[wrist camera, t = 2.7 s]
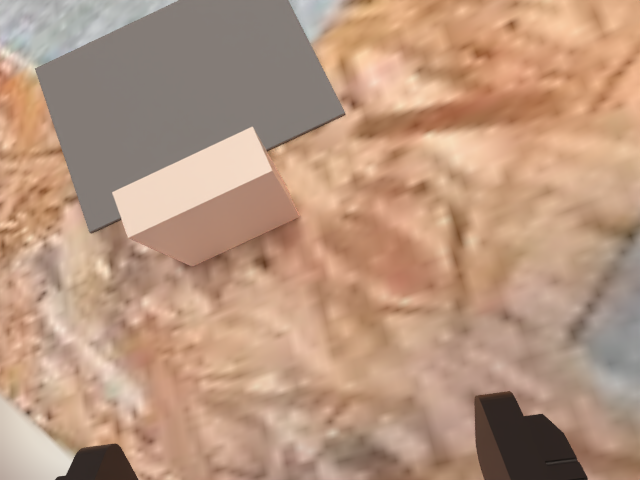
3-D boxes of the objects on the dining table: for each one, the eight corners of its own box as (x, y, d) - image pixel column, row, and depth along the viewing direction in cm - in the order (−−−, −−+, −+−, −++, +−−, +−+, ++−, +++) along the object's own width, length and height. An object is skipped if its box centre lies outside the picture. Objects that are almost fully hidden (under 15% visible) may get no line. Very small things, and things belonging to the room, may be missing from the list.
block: (300, 216, 38) (272, 170, 28) (192, 266, 38) (128, 237, 28) (284, 182, 39) (252, 126, 29) (179, 231, 39) (112, 192, 29)
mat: (345, 114, 39) (345, 112, 39) (91, 233, 40) (89, 232, 39) (267, -39, 43) (267, -42, 43) (37, 70, 44) (35, 68, 43)
